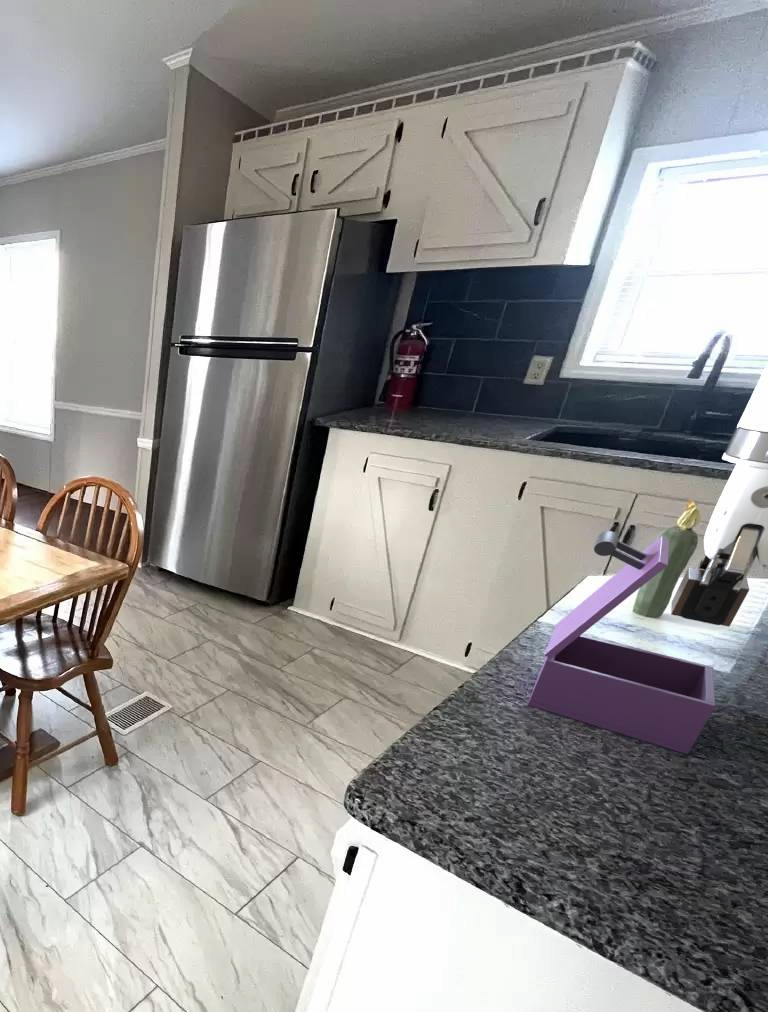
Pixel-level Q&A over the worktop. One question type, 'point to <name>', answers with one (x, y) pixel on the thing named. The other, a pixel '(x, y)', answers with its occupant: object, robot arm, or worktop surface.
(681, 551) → the vegetable
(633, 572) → the lid
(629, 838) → the worktop surface
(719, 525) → the robot arm
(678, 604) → the block
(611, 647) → the document box
